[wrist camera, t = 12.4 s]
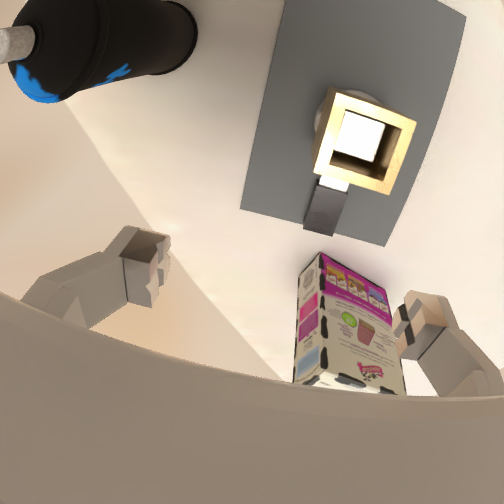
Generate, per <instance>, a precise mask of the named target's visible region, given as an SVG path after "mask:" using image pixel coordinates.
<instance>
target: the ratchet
mask: <svg viewBox="0 0 504 504" xmlns="http://www.w3.org/2000/svg"><path fill="white" fill-rule="evenodd" d="M341 90H343V91H346V92H350V93H353V94H356V95H359V96H362V97H364V98H367V99H370V100H373V101H376V102H378V101H377V100H376V99H375V98H373V97H372V96H370V95H368V94H366V93H364V92H362V91H359V90H355V89H341ZM325 98H326V97H325ZM325 98H324V99H323V100H322V101H321V103H320V104H319V106H318V107H317V110H316V112H315V117H314V128H315V133H316V130H317V127H318V123H319V120H320V116H321V112H322V109H323V105H324V102H325ZM378 103H379V102H378ZM384 128H385V124H384V123H383V122H381V121H380V120H378V119H375V118H372V117H369V116H366V115H364V114H361V113H358V112H355V111H352V110H349V109H345V113H344V116H343V119H342V123H341V126H340V129H339V133H338V136H337V139H336V142H335V146H334V150H336V151H339V152H342V153H346V154H349V155H352V156H355V157H358V158H361V159H364V160H367V161H370V162H373V160H374V157H375V154H376V151H377V148H378V146H379V143H380V140H381V137H382V134H383V131H384ZM348 185H349V183H348V182H345V181H342V180H338V179H335V178H331V177H328V176H324V175H321V174H320V176H319V179H316V182H315V185H314V188H313V191H312V194H311V197H310V201H309V204H308V207H307V210H306V213H305V216H304V219H303V229H305V230H309V231H313V232H317V233H320V234H324V235H328V236H333V233H334V231H335V228H336V226H337V223H338V220H339V218H340V215H341V213H342V210H343V207H344V205H345V202H346V199H347V197H348V193H347V188H348Z"/></svg>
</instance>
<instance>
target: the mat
mask: <svg viewBox="0 0 504 504" xmlns="http://www.w3.org/2000/svg"><path fill="white" fill-rule="evenodd" d="M465 22H466V16H464V15H462V14H461V13H459V12H457V11H455V10H454V9H452V8H450V7H448V6H446V5H444V4H443V3H441V2H439V1H437V0H286V3H285V8H284V12H283V16H282V20H281V24H280V28H279V33H278V37H277V41H276V45H275V50H274V54H273V58H272V63H271V67H270V72H269V76H268V80H267V85H266V89H265V94H264V98H263V103H262V107H261V112H260V116H259V121H258V125H257V130H256V135H255V139H254V144H253V149H252V153H251V158H250V163H249V168H248V172H247V177H246V182H245V187H244V192H243V196H242V201H241V206H240V209H243V210H247V211H251V212H255V213H259V214H263V215H267V216H271V217H275V218H279V219H283V220H287V221H291V222H295V223H299V224H303V219H304V216H305V213H306V210H307V207H308V204H309V201H310V197H311V194H312V191H313V188H314V185H315V182H316V179H319V176H320V174H317V173H314V172H313V164H312V154H311V148H312V144H313V141H314V137H315V134H316V133H315V128H314V117H315V112H316V110H317V107H318V106H319V104H320V103H321V101H322V100H323V99H324V98H325V97H326V94H327V91H328V87H329V86H330V87H334V88H337V89H340V90H341V89H355V90H359V91H362V92H364V93H366V94H368V95H370V96H372V97H373V98H375V99H376V100H377V101H378V102H379V103H381V104H384V105H386V106H389V107H392V108H394V109H396V110H398V111H399V112H401V113H403V114H404V115H406V116H408V117H409V118H411V119H413V120H414V121H416V122H417V124H416V126H415V129H414V132H413V135H412V138H411V141H410V143H409V146H408V149H407V151H406V154H405V157H404V159H403V162H402V165H401V167H400V170H399V172H398V175H397V177H396V180H395V182H394V185H393V187H392V190H391V192H390V194H389V195H386V194H383V193H380V192H377V191H374V190H371V189H368V188H365V187H361V186H358V185H355V184H352V183H349V185H348V188H347V193H348V197H347V199H346V202H345V205H344V207H343V210H342V213H341V215H340V218H339V220H338V223H337V226H336V228H335V231H334V233H337V234H340V235H344V236H348V237H351V238H355V239H358V240H362V241H366V242H369V243H373V244H376V245H380V246H383V247H385V245H386V243H387V241H388V239H389V237H390V235H391V233H392V231H393V228H394V226H395V224H396V222H397V220H398V218H399V216H400V213H401V211H402V209H403V207H404V205H405V202H406V200H407V198H408V196H409V193H410V191H411V189H412V186H413V184H414V181H415V179H416V177H417V174H418V172H419V169H420V167H421V164H422V162H423V159H424V157H425V154H426V152H427V149H428V146H429V144H430V141H431V138H432V136H433V133H434V130H435V127H436V124H437V121H438V119H439V116H440V113H441V110H442V107H443V104H444V100H445V97H446V94H447V91H448V88H449V84H450V81H451V78H452V74H453V71H454V67H455V63H456V60H457V56H458V52H459V48H460V44H461V40H462V35H463V31H464V26H465Z"/></svg>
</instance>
